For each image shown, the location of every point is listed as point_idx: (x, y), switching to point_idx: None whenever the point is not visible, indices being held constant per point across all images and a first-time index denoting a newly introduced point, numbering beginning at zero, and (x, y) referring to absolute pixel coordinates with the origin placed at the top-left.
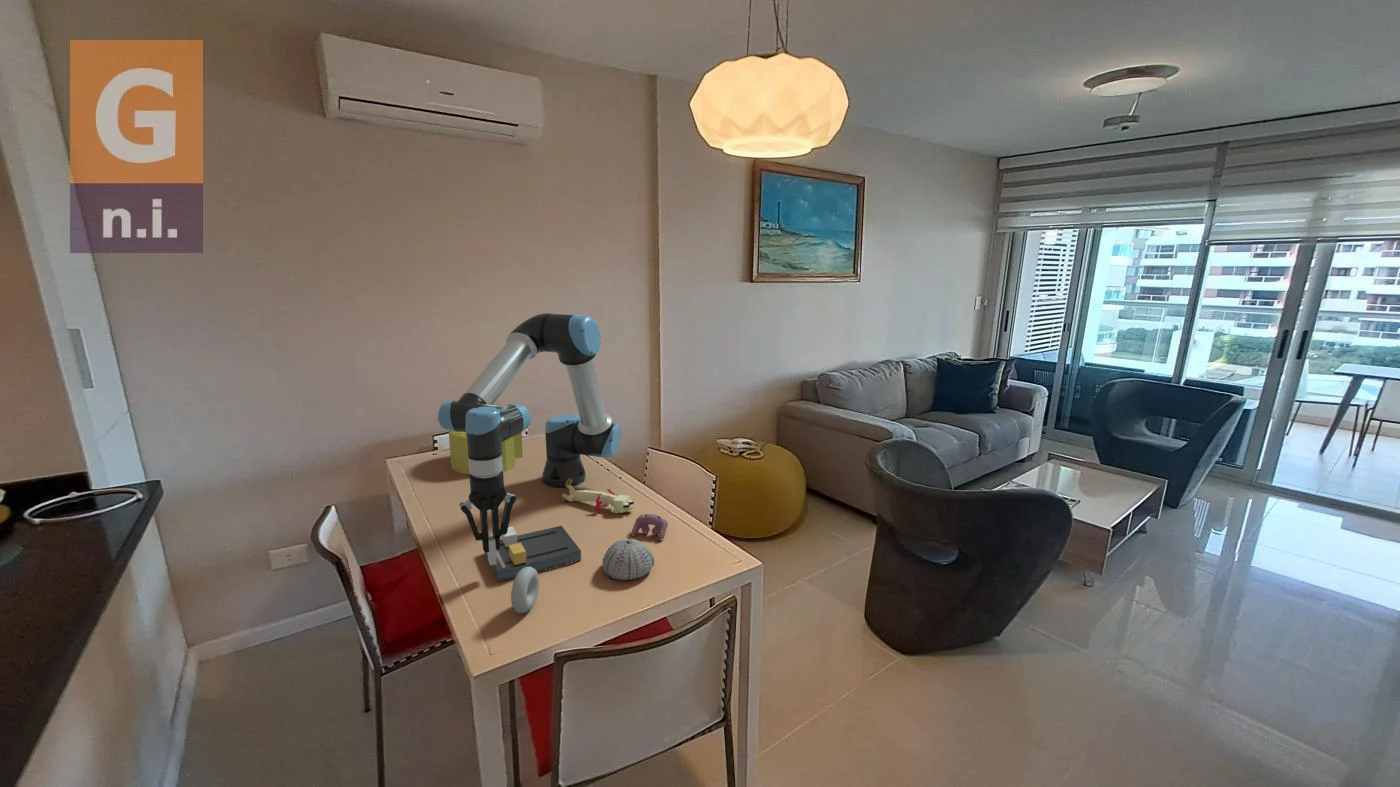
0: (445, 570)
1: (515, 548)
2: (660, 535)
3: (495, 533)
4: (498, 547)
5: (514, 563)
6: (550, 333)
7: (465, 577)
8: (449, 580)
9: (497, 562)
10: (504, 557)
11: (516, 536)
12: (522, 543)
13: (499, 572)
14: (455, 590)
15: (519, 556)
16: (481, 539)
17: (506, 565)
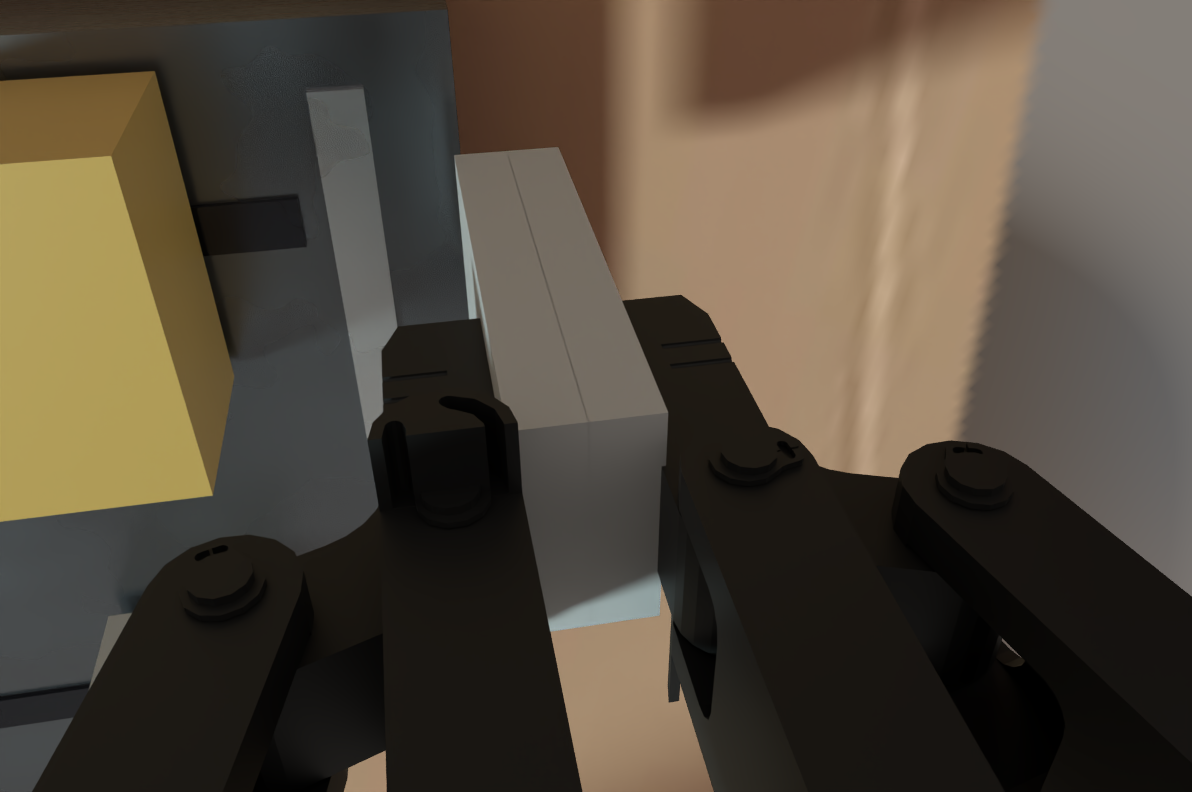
0: (903, 455)
1: (77, 362)
2: None
3: (506, 572)
4: (415, 351)
5: (142, 81)
6: None
7: (780, 263)
8: (936, 267)
9: (421, 283)
10: (309, 378)
11: None
12: (41, 631)
13: (422, 2)
14: (959, 24)
15: (3, 132)
16: (839, 486)
17: (293, 145)
